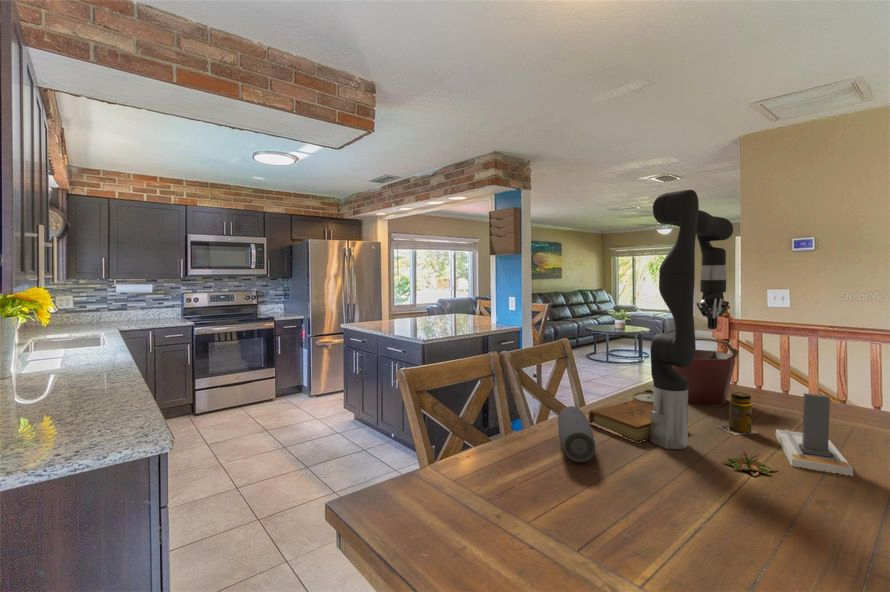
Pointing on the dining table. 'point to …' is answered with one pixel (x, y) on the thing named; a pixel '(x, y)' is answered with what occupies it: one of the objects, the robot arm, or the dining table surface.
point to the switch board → (810, 461)
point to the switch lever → (815, 425)
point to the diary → (625, 419)
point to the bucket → (709, 375)
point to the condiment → (740, 414)
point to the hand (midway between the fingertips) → (712, 328)
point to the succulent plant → (749, 462)
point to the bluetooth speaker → (576, 434)
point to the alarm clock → (644, 397)
